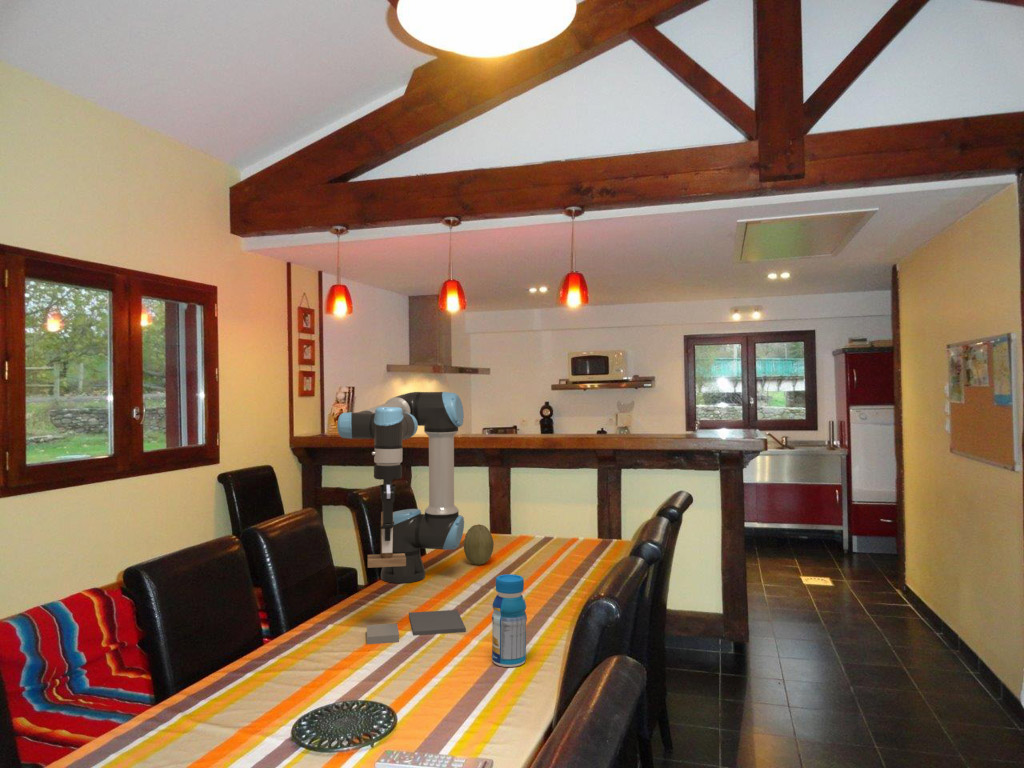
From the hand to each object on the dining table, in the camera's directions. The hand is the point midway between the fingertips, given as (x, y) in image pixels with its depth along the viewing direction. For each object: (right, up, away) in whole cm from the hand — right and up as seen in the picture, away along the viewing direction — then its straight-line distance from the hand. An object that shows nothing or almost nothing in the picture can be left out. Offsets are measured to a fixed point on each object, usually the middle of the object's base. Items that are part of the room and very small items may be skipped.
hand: (386, 550), depth 184 cm
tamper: (0, -4, 0) cm, 4 cm away
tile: (-1, -21, -1) cm, 21 cm away
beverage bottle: (+33, -22, -21) cm, 45 cm away
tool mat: (+13, -22, +5) cm, 26 cm away
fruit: (+21, -23, +73) cm, 79 cm away
